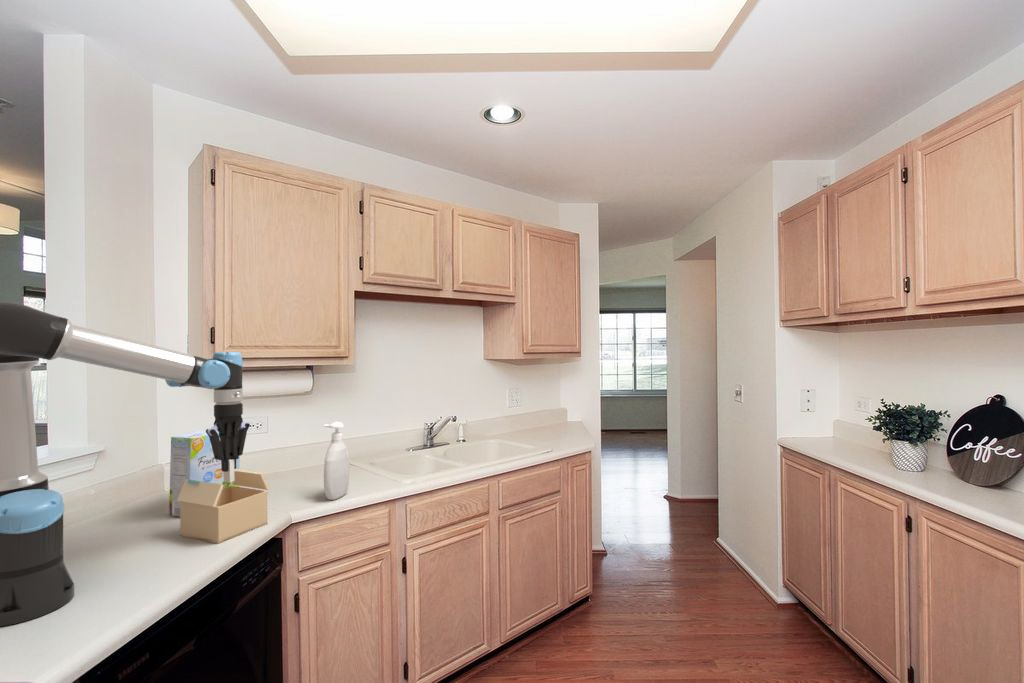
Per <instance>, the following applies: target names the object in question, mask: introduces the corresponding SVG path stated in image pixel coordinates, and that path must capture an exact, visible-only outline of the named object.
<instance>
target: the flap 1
mask: <svg viewBox="0 0 1024 683" xmlns="http://www.w3.org/2000/svg"><path fill="white" fill-rule="evenodd" d="M223 486H224V485H222V484H215V483H209V482H202V481H196V480H189V479H186V480H185V482H184V485H183V487H182V490H181V492H180V495H179V497H178V499H177V500H178V501H184V502H190V503H195V504H201V505H206V506H212V507H216V504H217V502H218V499H219V497H220V494H221V491H222V489H223Z"/></svg>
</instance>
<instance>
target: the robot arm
mask: <svg viewBox="0 0 1024 683" xmlns="http://www.w3.org/2000/svg"><path fill="white" fill-rule="evenodd" d="M242 356H243V355H242V353H240V352H239V351H218V352H217V351H215V352H214V353H213V356H212V358H204V357H200V356H196V355H194V354H189V353H184V352H180V351H177V350H173V349H169V348H165V347H160V346H157V345H153V344H150V343H145V342H142V341H137V340H134V339H129V338H125V337H123V336H122V337H121V336H117V335H114V334H110V333H106V332H101V331H98V330H95V329H92V328H86V327H83V326H78V325H76V324H73V323H72V322H71V320H70V319H68V318H66V317H62V316H58V315H54V314H51V313H48V312H46V311H43V310H39V309H37V308H34V307H31V306H28V305H26V304H25V305H24V304H23V303H19V302H13V301H0V627H5V626H10V625H14V624H15V625H16V624H19V623H24V622H27V621H29V620H33V619H36V618H39V617H42V616H45V615H47V614H49V613H52V612H54V611H56V610H58V609H60V608H62V607H63V606H65V605H67V604H68V603H69V602H71V600H73V598H74V597H75V583H74V581H73V579H72V577H71V575H70V572H69V571H68V568H67V566H66V563H65V562H64V512H65V503H64V499H63V496H62V494H61V493H60V492H58V491H57V490H53V489H49V479H48V478H49V477H48V475H47V474H44V473H42V472H41V471H40V470H39V465H38V464H39V463H38V450H37V448H38V447H37V437H36V436H37V434H36V423H35V422H36V421H35V409H34V396H33V395H34V394H33V393H34V392H33V380H32V369H33V367H35V366H36V365H37V364H38V363H39V362H40V359H43V360H48V361H53V360H56V359H59V358H61V359H65V360H69V361H74V362H79V363H84V364H89V365H95V366H100V367H103V368H104V367H105V368H109V369H113V370H119V371H122V372H123V371H124V372H129V373H133V374H138V375H142V376H148V377H153V378H157V379H161V380H164V381H165V382H166V384H167V386H169V387H170V388H171V387H172V388H173V387H174V388H175V387H179V388H182V387H195V388H204V389H208V390H213V403H214V405H213V417H214V422H213V426H211V427H210V428H206V429H205V430H206V433H207V434H208V436H209V438H210V442H211V446H212V450H213V454H214V458H215V459H217V460H221V466H222V467H221V470H222V471H223V472H224V482H233V481H234V469H236V459H238V458H239V457H238V456H240V457H241V456H243V453H244V448H245V443H246V442H245V441H246V439H247V432H248V430H249V428H250V426H251V424H250V423H249V422H245V421H244V419H243V416H242V415H243V413H244V412H243V411H244V408H243V405H244V404H243V403H242V401H243V368H244V365H243V364H244V363H243V357H242ZM238 429H239V430H238ZM217 430H218V431H217ZM218 432H219V436H218V434H217V433H218ZM219 437H220V439H219Z"/></svg>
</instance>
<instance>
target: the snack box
mask: <svg viewBox="0 0 1024 683" xmlns="http://www.w3.org/2000/svg"><path fill="white" fill-rule="evenodd" d="M206 430H207V429H204V430H198V431H194V432H193V431H192V432H190V433H189V432H188V433H185V434H179V435H174V436H171V437H170V463H169V464H170V465H169V466H170V468H169V470H170V471H169V496H168V497H169V502H168V505H169V506H168V507H169V508H168V509H169V510H168V515H169V516H170V517H180V501H178V500H177V499H178V497H179V495H180V492H181V490H182V487H183V485H184V482H185V480H186V479H189V480H196V481H202V482H209V483H215V484H222V485H224V486H223V488H225V487H229V486H235V487H240V486H238V485H233V483H232V482H224V472H223V471H222V470H221V467H222V466H221V460H217V459H215V458H214V454H213V450H212V446H211V442H210V438H209V436H208V434H207V433H206ZM238 430H239V429H238ZM217 431H218V430H217ZM217 434H218V436H219V432H218V433H217ZM219 439H220V437H219ZM238 457H239V458H238V459H236V469H239V470H240V457H241V456H238Z"/></svg>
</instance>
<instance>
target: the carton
mask: <svg viewBox="0 0 1024 683" xmlns="http://www.w3.org/2000/svg"><path fill="white" fill-rule="evenodd" d="M179 521H180V522H179V523H180V525H179V526H180V528H179V529H180V530H179V531H180V536H181V537H186V538H190V539H195V540H198V541H199V540H200V541H204V542H208V543H209V542H210V543H213V544H218V545H219V544H221V543H224V542H226V541H229V540H231V539H234V538H236V537H239V536H241V535H243V533H244V534H246V533H248V531H249V532H251V531H254V530H256V529H258V527H259V528H261V527H263V525H264V526H265V525H268V490H263V489H256V488H250V487H243V486H239V487H235V486H229V487H225V488H223V489H222V491H221V494H220V497H219V499H218V502H217V504H216V507H212V506H206V505H201V504H195V503H190V502H184V501H180V519H179ZM260 526H261V527H260ZM255 528H256V529H255ZM253 529H254V530H253ZM250 530H251V531H250Z"/></svg>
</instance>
